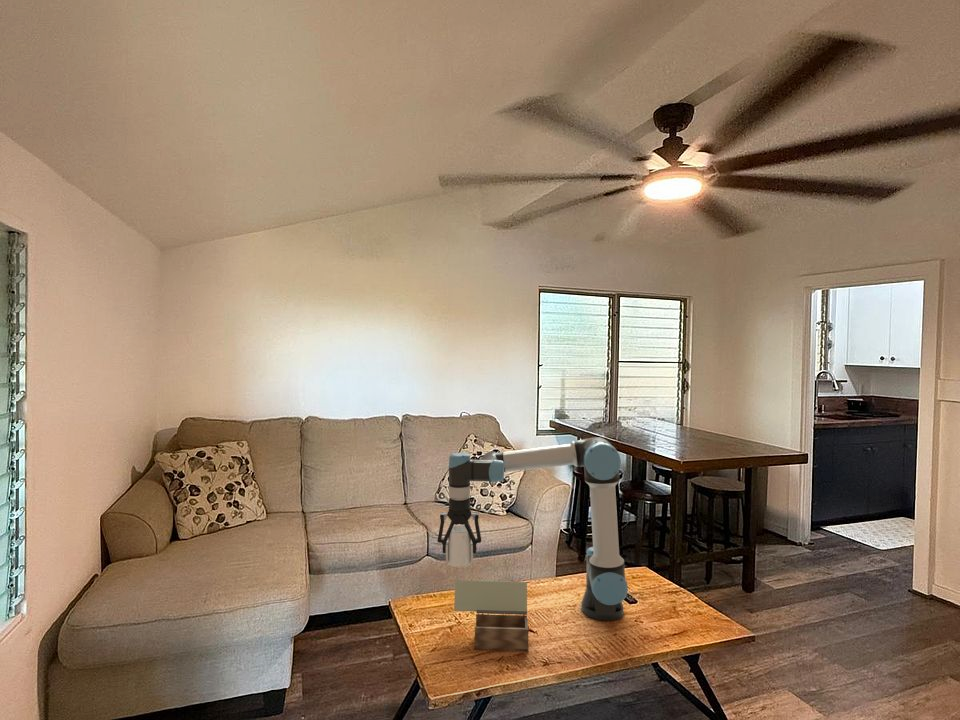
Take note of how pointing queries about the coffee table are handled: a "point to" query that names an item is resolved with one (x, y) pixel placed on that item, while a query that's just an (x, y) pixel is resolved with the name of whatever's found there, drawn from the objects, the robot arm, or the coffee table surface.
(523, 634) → the cable box
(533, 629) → the coffee table surface
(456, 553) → the mug
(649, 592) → the coffee table surface
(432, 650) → the coffee table surface
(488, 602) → the lid
